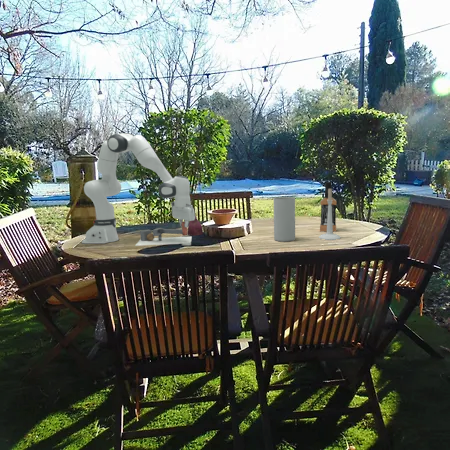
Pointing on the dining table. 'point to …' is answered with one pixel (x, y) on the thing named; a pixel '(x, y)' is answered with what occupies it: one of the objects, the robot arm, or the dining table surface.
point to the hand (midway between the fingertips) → (184, 226)
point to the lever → (170, 231)
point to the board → (162, 239)
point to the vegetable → (195, 228)
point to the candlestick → (329, 221)
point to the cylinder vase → (284, 219)
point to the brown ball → (150, 237)
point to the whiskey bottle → (325, 210)
